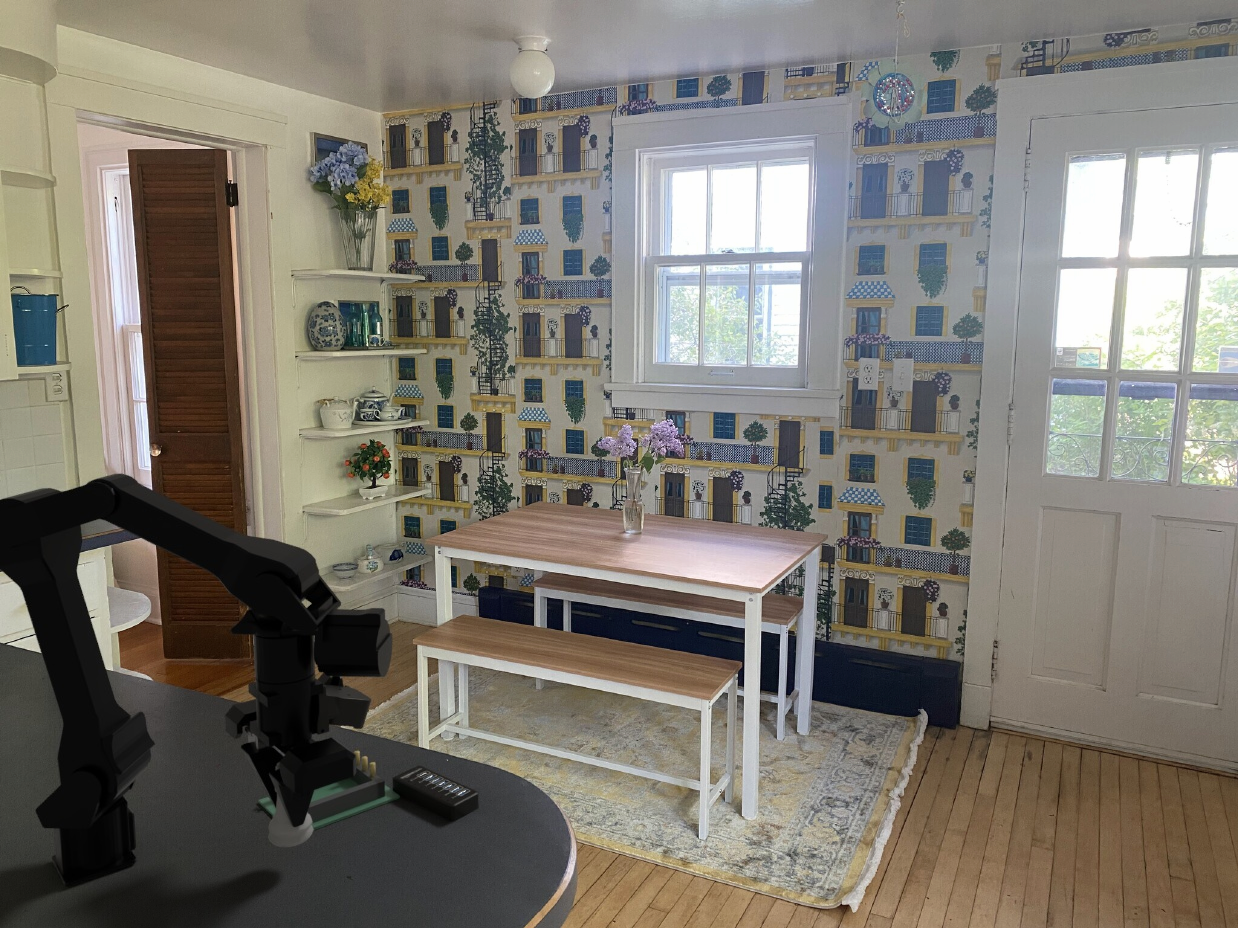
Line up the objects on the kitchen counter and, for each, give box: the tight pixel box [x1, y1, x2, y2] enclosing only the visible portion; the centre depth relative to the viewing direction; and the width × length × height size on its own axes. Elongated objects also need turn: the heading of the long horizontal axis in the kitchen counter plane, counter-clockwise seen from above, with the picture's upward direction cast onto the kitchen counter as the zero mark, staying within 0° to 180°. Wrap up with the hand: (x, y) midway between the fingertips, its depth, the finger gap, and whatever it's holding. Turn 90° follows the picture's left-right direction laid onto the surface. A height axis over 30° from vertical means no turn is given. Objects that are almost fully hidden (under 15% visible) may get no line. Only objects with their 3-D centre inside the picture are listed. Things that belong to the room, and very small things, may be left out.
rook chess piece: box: [267, 762, 315, 848], centre depth 93 cm, size 4×4×8 cm
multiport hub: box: [391, 764, 480, 822], centre depth 108 cm, size 4×11×2 cm, turn 52°
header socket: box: [257, 750, 401, 831], centre depth 107 cm, size 13×10×4 cm
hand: (290, 817), depth 94 cm, fingers closed on rook chess piece, 3 cm apart
